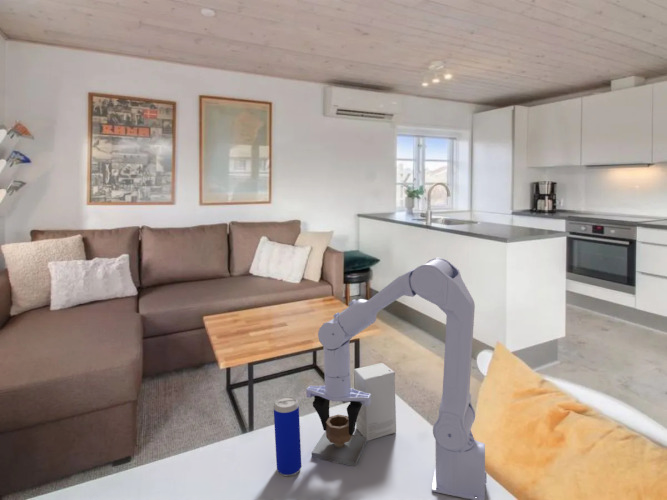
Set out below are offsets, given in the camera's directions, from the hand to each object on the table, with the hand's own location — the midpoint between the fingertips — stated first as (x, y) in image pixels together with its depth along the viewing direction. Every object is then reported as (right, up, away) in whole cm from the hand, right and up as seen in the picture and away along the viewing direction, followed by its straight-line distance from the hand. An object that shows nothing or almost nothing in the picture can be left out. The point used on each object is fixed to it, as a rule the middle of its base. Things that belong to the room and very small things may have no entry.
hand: (339, 430), depth 90 cm
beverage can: (-11, -6, -6) cm, 13 cm away
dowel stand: (0, -5, +1) cm, 5 cm away
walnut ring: (0, -1, 0) cm, 1 cm away
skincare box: (+9, -4, +7) cm, 12 cm away
